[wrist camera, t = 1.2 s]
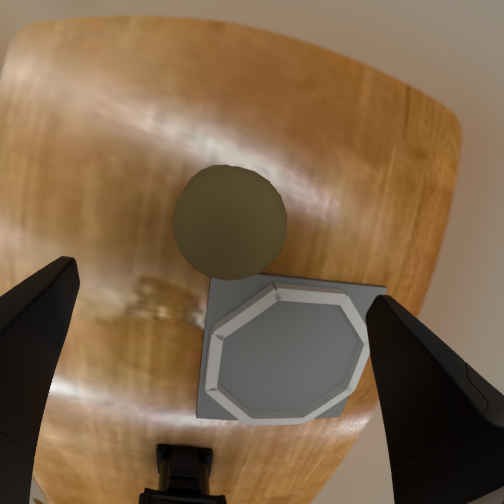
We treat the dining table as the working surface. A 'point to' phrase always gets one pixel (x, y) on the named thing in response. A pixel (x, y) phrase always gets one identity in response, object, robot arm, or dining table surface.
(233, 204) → the olive brown pawn
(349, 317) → the collar plate
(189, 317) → the dining table surface
